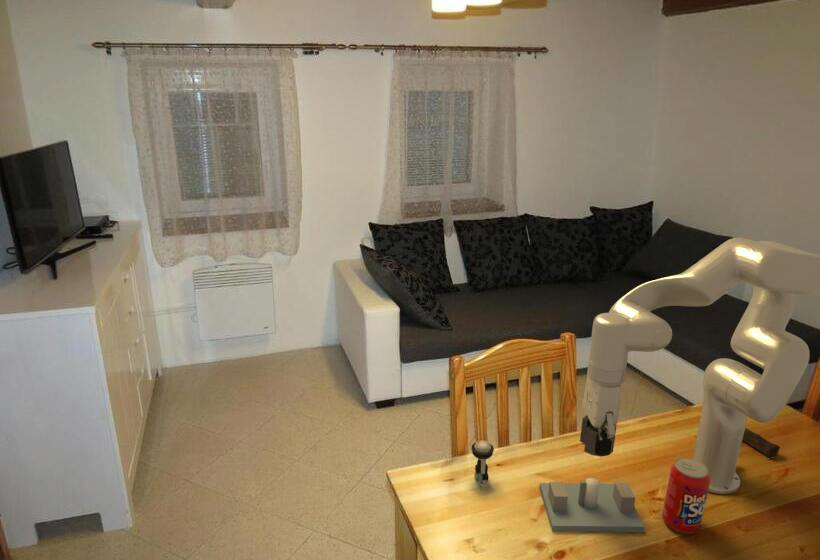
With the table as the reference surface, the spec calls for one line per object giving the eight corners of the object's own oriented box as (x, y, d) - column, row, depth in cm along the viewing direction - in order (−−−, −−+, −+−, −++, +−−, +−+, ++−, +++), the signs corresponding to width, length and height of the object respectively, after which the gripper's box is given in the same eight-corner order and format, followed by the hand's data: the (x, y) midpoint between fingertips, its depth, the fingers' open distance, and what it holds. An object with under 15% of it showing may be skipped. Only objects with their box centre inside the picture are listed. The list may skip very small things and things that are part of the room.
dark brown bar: (778, 457, 153) (782, 442, 151) (767, 461, 152) (771, 445, 150) (719, 420, 170) (722, 406, 168) (708, 422, 168) (711, 408, 167)
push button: (495, 488, 140) (498, 453, 137) (474, 490, 140) (475, 455, 137) (488, 471, 147) (490, 437, 143) (467, 472, 146) (469, 438, 143)
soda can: (664, 506, 135) (674, 451, 130) (701, 518, 131) (713, 463, 126) (658, 527, 129) (669, 471, 124) (698, 541, 125) (710, 483, 120)
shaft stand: (622, 489, 141) (626, 463, 138) (643, 532, 127) (648, 504, 125) (539, 488, 141) (541, 462, 138) (552, 531, 128) (555, 503, 125)
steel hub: (607, 437, 132) (610, 414, 130) (617, 456, 125) (621, 433, 123) (577, 436, 132) (580, 413, 130) (586, 456, 126) (589, 432, 124)
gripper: (577, 352, 131) (570, 420, 137) (600, 392, 115) (590, 467, 121) (611, 352, 131) (602, 420, 137) (638, 392, 114) (627, 468, 120)
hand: (596, 442), depth 129 cm, fingers closed on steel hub, 7 cm apart
